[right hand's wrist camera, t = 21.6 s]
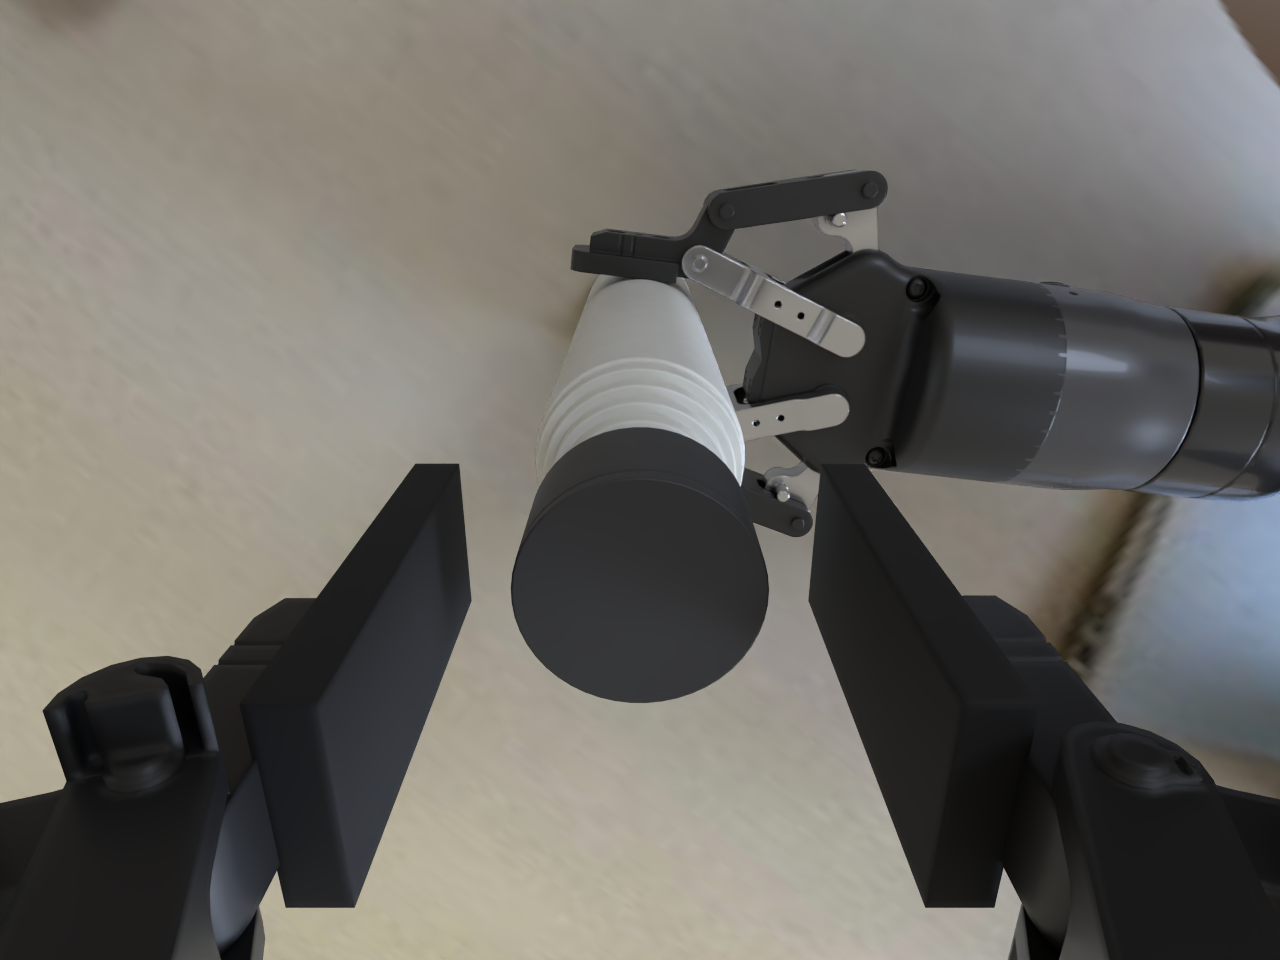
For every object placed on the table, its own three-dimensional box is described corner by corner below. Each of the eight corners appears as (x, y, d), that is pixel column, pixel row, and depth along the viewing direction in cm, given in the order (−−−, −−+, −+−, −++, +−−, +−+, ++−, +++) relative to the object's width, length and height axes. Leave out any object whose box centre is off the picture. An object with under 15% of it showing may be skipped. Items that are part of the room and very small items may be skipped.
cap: (714, 396, 13) (729, 443, 11) (773, 590, 15) (797, 667, 13) (497, 464, 14) (469, 523, 12) (574, 646, 15) (563, 729, 13)
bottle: (567, 291, 35) (434, 533, 12) (658, 233, 34) (692, 382, 12) (623, 378, 37) (595, 739, 14) (711, 326, 36) (836, 619, 13)
